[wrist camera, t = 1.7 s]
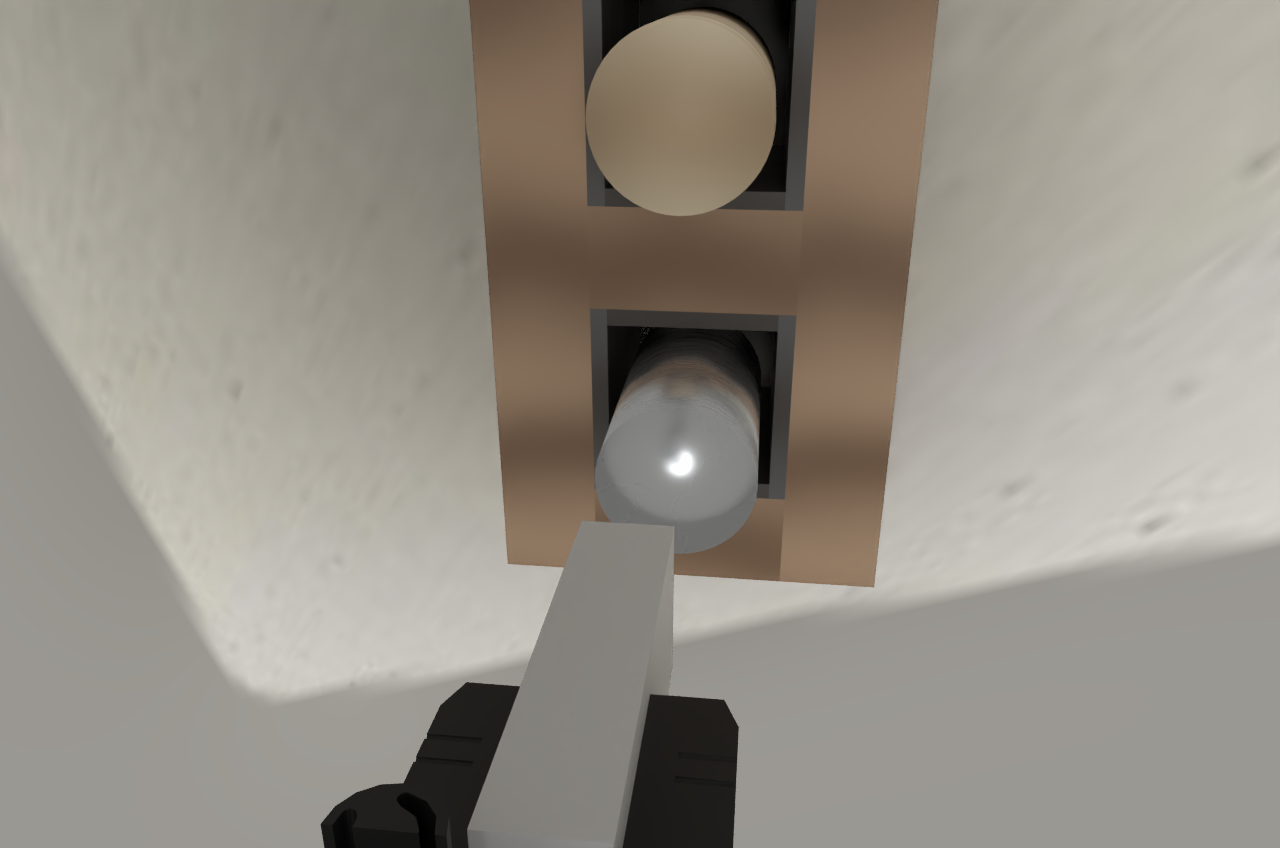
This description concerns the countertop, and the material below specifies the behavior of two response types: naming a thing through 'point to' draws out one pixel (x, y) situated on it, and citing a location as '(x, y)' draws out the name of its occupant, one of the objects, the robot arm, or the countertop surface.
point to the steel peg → (685, 437)
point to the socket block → (705, 276)
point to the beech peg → (684, 111)
